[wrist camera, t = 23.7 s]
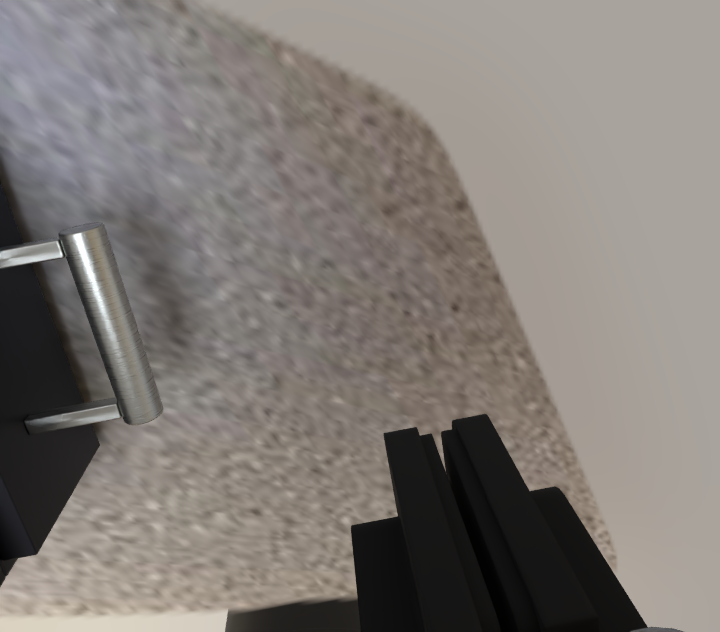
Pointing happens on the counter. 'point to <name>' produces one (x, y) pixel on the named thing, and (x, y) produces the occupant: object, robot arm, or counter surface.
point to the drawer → (58, 378)
